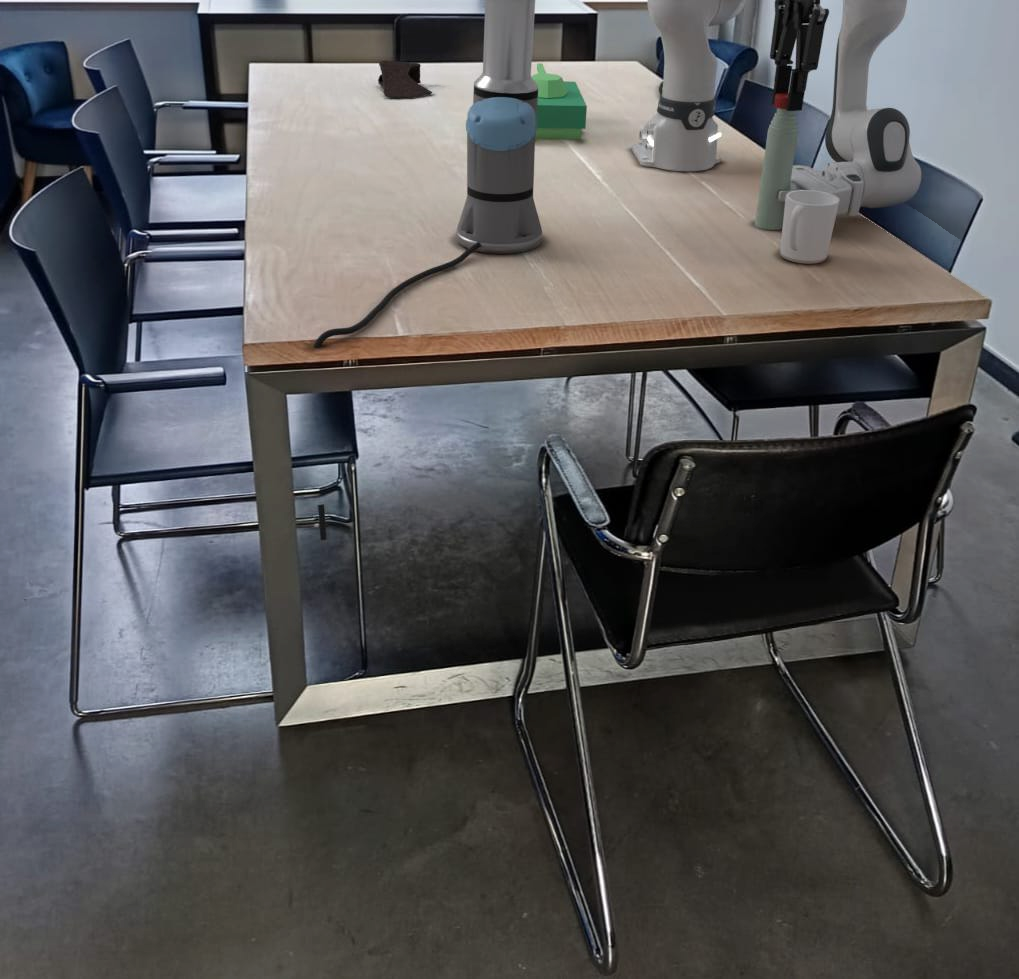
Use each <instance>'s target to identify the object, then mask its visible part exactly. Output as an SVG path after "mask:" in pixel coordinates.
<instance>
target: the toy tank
mask: <svg viewBox="0 0 1019 979" xmlns="http://www.w3.org/2000/svg"><path fill="white" fill-rule="evenodd" d="M536 70H537V73H534V74H533V75H531V77H532V78H533V80H534V81H535V82H536V83H537V84H538V87H539V88H538V105H537V131H536V136H535V141H537V140H541V141H545V140H546V141H581V140H582V133H583V130H585V129H586V127H587V124H586V123H587V110H588V109H587V108H588V104H587V103H586V101H585V99H584V97H583V94H582V92H581V90H580V88H579V87H578V86H579V85H578V84H577V82H576V81H569V80H568V81H565V80H563V77H562V76H560V75H558V74H556V73H547V72H546V68H545V67H544V64H543V63H536Z"/></svg>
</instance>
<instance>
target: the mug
mask: <svg viewBox="0 0 1019 979" xmlns="http://www.w3.org/2000/svg"><path fill="white" fill-rule="evenodd" d="M839 200H840V199H839V198H838V197H837V196H835V195H832V194H830V193H826V192H821V191H813V190H797V191H792V192H789V193H787V194H786V200H785V209H784V219H783V228H782V229H781V239H780V248H779V254H780V257H782V258H783V259H785V260H787V261H790V262H793V263H797V264H805V265H806V264H809V265H813V264H819V263H823V262H824V261H825V260H827V258H828V253H829V248H830V245H831V240H832V236H833V231H834V227H835V223H836V218H837V215H836V214H837V210H838V205H839Z"/></svg>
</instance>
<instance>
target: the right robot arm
mask: <svg viewBox="0 0 1019 979" xmlns="http://www.w3.org/2000/svg"><path fill="white" fill-rule="evenodd" d="M746 2H747V0H647V12H648V16H649V18H650V20H651V22H652V23H653V24H654V25H655V26H656V28H657V29H658V31H659V35H660V38H661V43H662V48H663V58H664V59H663V60H664V64H663V67H664V68H663V80H662V81H661V82H660V84H659V86H658V93H659V99H658V102H657V108H656V113H655V114H654V115H653V116H652V118H650V120H649V121H648V122H646V124H644V127H643V129H640V130H639V140H640V141H642V142H639V143H634V144H632V145H631V150H632V152H633V154H634V156H635V158H636V159H637V161H638V163H639V164H640V166H643V167H650V168H657V169H661V170H662V169H663V170H665V171H666V170H667V171H674V172H675V171H676V172H697V171H698V172H699V171H700V172H701V171H705V170H710V169H711V168H713V167H714V166H715V165H717V164H720V163H721V162H722V156H720V155H718V152H717V151H718V138H720V137H722V133H721V132H718V131H719V126H718V123H717V122H716V121H715V120H714V118H713V117H714V116H715V110H716V98H715V90H716V80H717V73H718V59H717V56H716V55H715V53H714V52H713V51H712V50H711V48H710V44H709V36H708V29H709V27H714V26H720V25H722V24H724V23H726V22H729V21H731V20H732V19H734V18H735V17H738V16H739V14H740V13H741V12H742V11H743V9H744V8H745V6H746V5H745V4H746ZM907 3H908V0H842V16H841V24H840V30H839V33H838V38H837V42H836V49H835V50H836V51H835V62H834V63H835V64H834V77H833V95H832V96H833V97H832V107H831V114H830V117H829V121H828V124H827V127H826V131H825V135H824V136H825V137H824V143H825V148H826V151H827V153H828V155H829V156H830V158H831V160H833V161H834V162H828V163H826V164H825V165H824V166H823V167H822V168H821V169H820V170H819V171H818V170H816V169H814V168H812V167H810V166H807V165H803V164H793V168H792V175H791V181H790V188H789V190H786V189H782V190H778V191H777V195H776V198H777V199H778V200H779V201H785V200H786V194H787V193H789V192H792V191H797V190H813V191H821V192H826V193H830V194H832V195H835V196H837V197H838V198H839V199H840V200H839V205H838V210H837V214H836V216H841V215H842V216H843V215H844V216H847V217H857V216H859V213H860V209H861V208H866V209H880V208H881V209H882V208H889V207H895V206H900V205H903V204H904V203H907V202H909V201H910V200H912V199H913V197H914V196H915V195H916V194H917V192H918V191H919V188H920V186H921V182H922V169H921V166H920V165H919V163H918V161H916V159H915V157H914V155H913V152H912V148H911V143H910V137H911V135H910V134H911V128H910V124H909V121H908V119H907V117H906V115H905V114H904V113H903V112H902V111H900V110H899V109H896V108H893V107H881V108H872V109H868V106H867V98H868V85H869V83H868V82H869V70H870V69H869V68H870V64H871V60H872V57H873V55H874V54H875V52H876V50H877V49H878V48H879V47H880V45H881V44H882V43H883V42H884V41H885V40H886V39H887V38H888V37H890V35H892V34H893V33H894V32H895V31H896V30H897V29H898V27H899V26H900V24H901V23H902V21H903V20H904V18H905V15H906V11H907Z"/></svg>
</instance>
